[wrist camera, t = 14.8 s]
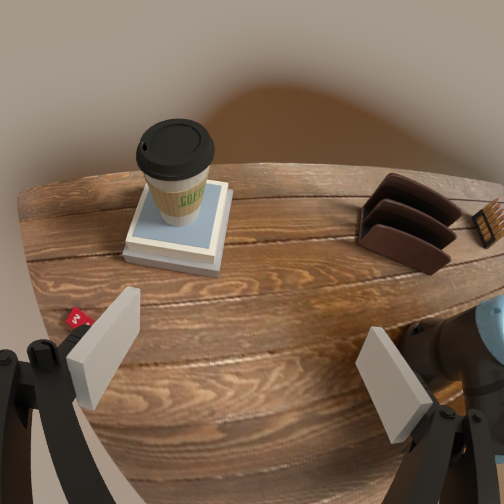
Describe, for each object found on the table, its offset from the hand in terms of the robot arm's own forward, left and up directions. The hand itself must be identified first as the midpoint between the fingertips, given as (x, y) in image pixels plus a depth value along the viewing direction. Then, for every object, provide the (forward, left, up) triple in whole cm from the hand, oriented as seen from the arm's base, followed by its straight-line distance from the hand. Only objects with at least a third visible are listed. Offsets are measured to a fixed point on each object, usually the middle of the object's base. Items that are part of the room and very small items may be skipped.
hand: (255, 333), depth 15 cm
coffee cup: (+11, -22, -23) cm, 34 cm away
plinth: (+11, -22, -29) cm, 38 cm away
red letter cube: (+24, -2, -30) cm, 38 cm away
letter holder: (-33, -28, -30) cm, 53 cm away
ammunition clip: (-68, -38, -30) cm, 84 cm away
